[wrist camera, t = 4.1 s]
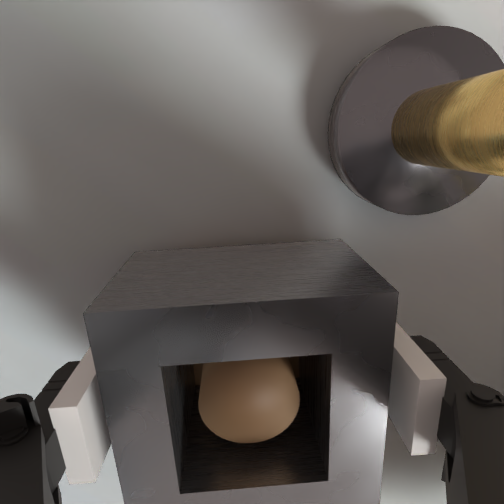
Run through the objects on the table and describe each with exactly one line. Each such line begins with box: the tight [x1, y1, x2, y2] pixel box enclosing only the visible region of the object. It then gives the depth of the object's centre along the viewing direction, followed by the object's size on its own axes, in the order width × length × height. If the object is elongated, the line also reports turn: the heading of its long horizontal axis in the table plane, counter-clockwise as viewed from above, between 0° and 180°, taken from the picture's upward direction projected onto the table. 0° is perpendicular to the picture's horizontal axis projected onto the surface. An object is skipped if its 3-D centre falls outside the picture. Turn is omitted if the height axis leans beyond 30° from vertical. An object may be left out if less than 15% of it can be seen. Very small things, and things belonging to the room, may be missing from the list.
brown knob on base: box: [193, 356, 300, 443], centre depth 14 cm, size 6×6×6 cm
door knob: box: [328, 26, 504, 215], centre depth 10 cm, size 6×6×9 cm
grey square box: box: [83, 239, 399, 504], centre depth 13 cm, size 8×8×5 cm
